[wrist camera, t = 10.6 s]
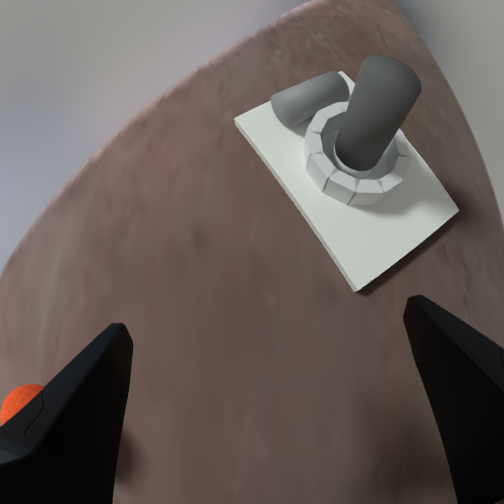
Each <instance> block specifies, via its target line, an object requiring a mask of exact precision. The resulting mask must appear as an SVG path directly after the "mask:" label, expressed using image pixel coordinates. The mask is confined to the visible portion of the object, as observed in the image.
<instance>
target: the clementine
mask: <svg viewBox="0 0 504 504" xmlns="http://www.w3.org/2000/svg"><path fill="white" fill-rule="evenodd" d="M43 388H44V386H40V385H32V384H29V385H22V386H20V387H18V388H16V389H14V390H12V391H11V392H10V393H9V394H8V396H7V397H6V398H5V400H4V402H3V405H2V409H1V413H0V420H1V425H3V424H4V423H5V422H7V421H8V420H9V419H10V418H11V417H12V416H14V415H15V414H16V413H17V412H18V411H19V410H21V409H22V408H23V407H24V406H25V405H26V404H27V403H28V402H29V401H30V400H31V399H32V398H33V397H35V396H36V395H37V394H38V393H39V392H40V391H41V390H43Z"/></svg>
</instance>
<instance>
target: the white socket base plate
mask: <svg viewBox="0 0 504 504" xmlns="http://www.w3.org/2000/svg"><path fill="white" fill-rule="evenodd" d="M354 86H355V83H354V82H353V81H352V80H351V79H350V78H349V77H347V76H346V75H345V74H344V73H343V72H342V71H340V72H338V73H337V72H335V71H330V72H328V73H325V74H322V75H320V76H317V77H315V78H312V79H310V80H307V81H305V82H302V83H300V84H298V85H295V86H293V87H291V88H288V89H286V90H284V91H281V92H279V93H277V94H275V95H273V96H271V101H269V102H267V103H265V104H262V105H260V106H258V107H256V108H254V109H252V110H250V111H248V112H246V113H244V114H242V115H240V116H238V117H236V118H234V120H235V125H236V126H237V128H238V129H239V130H240V132H241V133H242V134H243V135H244V137H245V138H246V139H247V141H248V142H249V143H250V144H251V146H252V147H253V148H254V150H255V151H256V152H257V154H258V155H259V156H260V158H261V159H262V160H263V162H264V163H265V164H266V166H267V167H268V168H269V170H270V171H271V172H272V174H273V175H274V176H275V178H276V179H277V180H278V182H279V183H280V185H281V186H282V187H283V189H284V190H285V191H286V193H287V194H288V196H289V197H290V198H291V200H292V201H293V203H294V204H295V205H296V207H297V208H298V210H299V211H300V212H301V214H302V215H303V217H304V218H305V220H306V221H307V222H308V224H309V225H310V227H311V228H312V230H313V231H314V232H315V234H316V235H317V237H318V238H319V240H320V241H321V243H322V244H323V246H324V247H325V249H326V250H327V252H328V253H329V255H330V256H331V258H332V259H333V261H334V262H335V264H336V265H337V267H338V268H339V270H340V271H341V273H342V274H343V276H344V277H345V279H346V280H347V282H348V283H349V285H350V287H351V288H352V290H353V291H354V292H356V291H358V290H360V289H361V288H362V287H364V286H365V285H367V284H368V283H369V282H371V281H372V280H373V279H375V278H376V277H377V276H379V275H380V274H381V273H383V272H384V271H385V270H387V269H388V268H389V267H391V266H392V265H393V264H395V263H396V262H397V261H398V260H400V259H401V258H402V257H404V256H405V255H406V254H407V253H409V252H410V251H411V250H413V249H414V248H415V247H416V246H418V245H419V244H420V243H421V242H422V241H424V240H425V239H426V238H427V237H429V236H430V235H431V234H432V233H433V232H435V231H436V230H437V229H438V228H439V227H441V226H442V225H443V224H444V223H445V222H446V221H448V220H449V219H450V218H451V217H452V216H453V215H455V214H456V213H457V212H458V211H459V209H458V208H457V206H456V205H455V203H454V202H453V200H452V199H451V197H450V196H449V194H448V193H447V191H446V190H445V189H444V187H443V186H442V184H441V183H440V181H439V180H438V179H437V177H436V176H435V175H434V173H433V172H432V171H431V169H430V168H429V167H428V165H427V164H426V163H425V161H424V160H423V159H422V158H421V156H420V155H419V154H418V153H417V151H416V150H415V149H414V148H413V146H412V145H411V144H410V143H409V141H408V140H407V139H406V138H405V136H404V134H403V132H402V131H401V130H400V129H398V131H397V133H396V134H395V136H394V138H393V139H392V141H391V142H390V144H389V146H388V147H387V149H386V150H385V152H384V153H383V155H382V157H381V158H380V160H379V161H378V163H377V164H376V166H375V167H374V169H373V171H372V172H371V173H370V175H369V176H367V177H366V178H364V179H356V178H354V177H352V176H350V175H348V174H346V173H344V172H342V171H340V170H338V169H336V167H335V166H334V165H333V164H332V160H331V153H332V150H333V147H334V144H335V142H336V139H337V136H338V133H339V130H340V127H341V124H342V121H343V119H344V116H345V113H346V110H347V107H348V104H349V101H350V98H351V95H352V92H353V89H354Z"/></svg>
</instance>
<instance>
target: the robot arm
mask: <svg viewBox="0 0 504 504" xmlns="http://www.w3.org/2000/svg"><path fill="white" fill-rule="evenodd" d="M403 320H404V324H405V328H406V331H407V335H408V338H409V342H410V346H411V349H412V353H413V357H414V360H415V363H416V366H417V368H418V371H419V374H420V376H421V379H422V382H423V385H424V387H425V390H426V393H427V396H428V399H429V402H430V405H431V407H432V410H433V414H434V417H435V420H436V423H437V426H438V429H439V432H440V436H441V439H442V442H443V446H444V449H445V453H446V456H447V460H448V464H449V467H450V472H451V476H452V480H453V484H454V488H455V493H456V497H457V502H458V504H495V503H497V502H498V504H504V348H502V347H499V345H498V344H496V343H495V342H493V341H492V340H490V339H489V338H488V337H486V336H485V335H483V334H482V333H480V332H479V331H477V330H476V329H474V328H473V327H471V326H470V325H468V324H467V323H465V322H464V321H462V320H461V319H459V318H457V317H456V316H454V315H453V314H451V313H450V312H448V311H447V310H445V309H444V308H442V307H440V306H439V305H437V304H436V303H434V302H433V301H431V300H429V299H428V298H426V297H425V296H423V295H421V294H417V295H411V296H409V298H408V300H407V304H406V307H405V311H404V315H403ZM132 355H133V341H132V339H131V337H130V334H129V332H128V330H127V328H126V326H125V325H124V324H123V323H112V324H110V325H109V326H108V327H107V328H106V329H105V330H104V331H103V332H101V333H100V334H99V335H98V336H97V337H96V338H95V339H94V340H93V341H92V342H91V343H90V344H89V345H87V346H86V347H85V348H84V349H83V350H82V351H81V352H80V353H79V354H78V355H77V356H76V357H75V358H74V359H73V360H72V361H71V362H70V363H68V364H67V365H66V366H65V367H64V368H63V369H62V370H61V371H60V372H59V373H58V374H57V375H56V376H55V377H54V378H53V379H52V380H51V381H50V382H49V383H48V384H47V385H46V386H45V387H44V388H43V390H41V391H40V392H39V393H38V394H37V395H36V396H35V397H33V398H32V399H31V400H30V401H29V402H28V403H27V404H26V405H25V406H24V407H23V408H22V409H21V410H19V411H18V412H17V413H16V414H15V415H14V416H12V417H11V418H10V419H9V420H8V421H7V422H5V423H4V424H3V425H2V426H1V427H0V504H112V502H113V499H112V498H113V491H114V482H115V474H116V466H117V459H118V452H119V445H120V438H121V432H122V426H123V420H124V414H125V409H126V403H127V398H128V393H129V386H130V376H131V365H132Z"/></svg>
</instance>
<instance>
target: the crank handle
mask: <svg viewBox="0 0 504 504" xmlns="http://www.w3.org/2000/svg"><path fill="white" fill-rule="evenodd" d="M420 93H421V83H420V80H419V78H418V77H417V75H416V74H415V73H414V71H413V70H412V69H411V68H410V67H408V66H407V65H406V64H404V63H403V62H401V61H399V60H397V59H395V58H392V57H389V56H384V55H372V56H369V57H367V58H366V59H364V60H363V62H362V64H361V67H360V70H359V74H358V77H357V80H356V83H355V86H354V89H353V92H352V95H351V98H350V101H349V104H348V107H347V110H346V113H345V116H344V119H343V121H342V124H341V127H340V130H339V133H338V136H337V139H336V142H335V144H334V147H333V150H332V153H331V160H332V164H333V165H334V166H335V167H336V169H338V170H340V171H342V172H344V173H346V174H348V175H350V176H352V177H354V178H356V179H364V178H366V177H367V176H369V175H370V173H371V172H372V171H373V169H374V167H375V166H376V164H377V163H378V161H379V160H380V158H381V157H382V155H383V153H384V152H385V150H386V149H387V147H388V146H389V144H390V142H391V141H392V139H393V138H394V136H395V134H396V133H397V131H398V129H399V128H400V126H401V125H402V123H403V121H404V120H405V118H406V116H407V115H408V113H409V111H410V110H411V108H412V106H413V105H414V103H415V101H416V100H417V98H418V96H419V95H420Z"/></svg>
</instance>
